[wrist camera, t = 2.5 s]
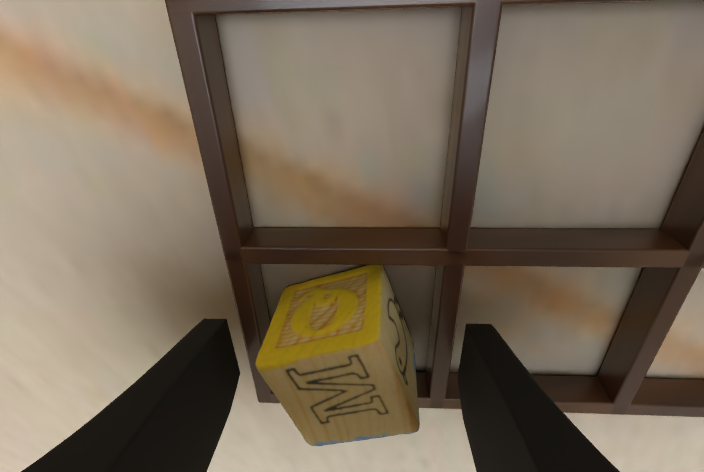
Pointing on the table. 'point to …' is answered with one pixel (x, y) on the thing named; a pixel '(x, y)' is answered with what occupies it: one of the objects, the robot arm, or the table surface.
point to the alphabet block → (342, 358)
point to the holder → (449, 224)
